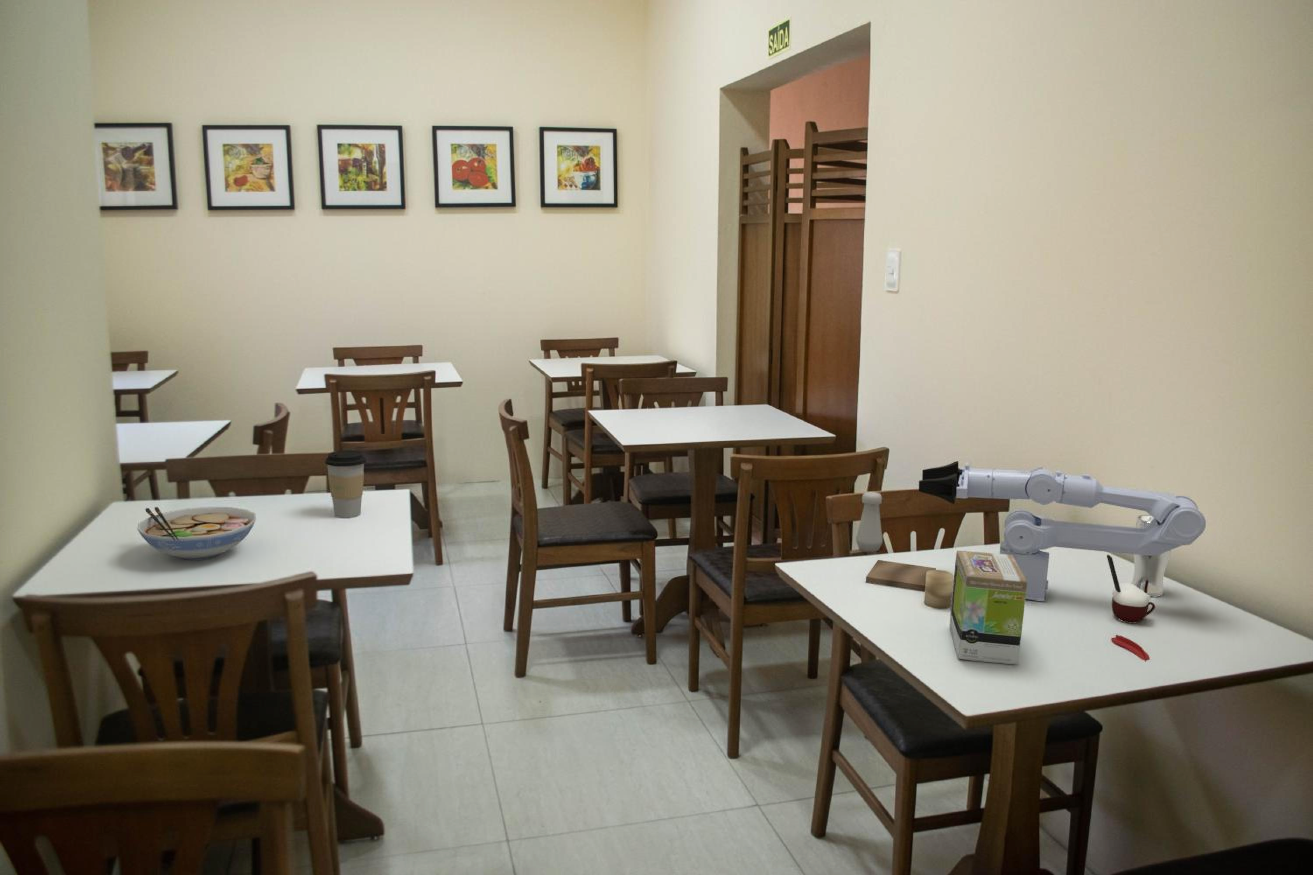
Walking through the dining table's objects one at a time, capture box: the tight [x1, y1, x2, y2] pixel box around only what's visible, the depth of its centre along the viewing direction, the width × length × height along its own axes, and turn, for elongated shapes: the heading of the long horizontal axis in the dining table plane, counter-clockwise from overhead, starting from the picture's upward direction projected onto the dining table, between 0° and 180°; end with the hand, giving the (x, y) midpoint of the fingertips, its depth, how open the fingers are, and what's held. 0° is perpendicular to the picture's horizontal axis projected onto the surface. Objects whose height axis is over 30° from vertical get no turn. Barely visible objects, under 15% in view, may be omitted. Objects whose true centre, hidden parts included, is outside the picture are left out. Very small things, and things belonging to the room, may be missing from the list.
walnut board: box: [865, 559, 937, 592], centre depth 210 cm, size 12×12×1 cm
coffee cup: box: [324, 449, 367, 519], centre depth 245 cm, size 9×9×15 cm
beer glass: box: [1130, 514, 1172, 596], centre depth 203 cm, size 7×7×15 cm
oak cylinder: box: [923, 569, 954, 610], centre depth 195 cm, size 5×5×6 cm
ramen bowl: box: [137, 506, 257, 561], centre depth 214 cm, size 25×23×8 cm
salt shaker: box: [855, 491, 884, 553], centre depth 227 cm, size 6×6×13 cm
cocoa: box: [1106, 554, 1156, 624], centre depth 189 cm, size 10×6×12 cm, turn 67°
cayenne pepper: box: [1110, 634, 1150, 663], centre depth 176 cm, size 12×5×2 cm, turn 170°
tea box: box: [949, 550, 1027, 665], centre depth 175 cm, size 15×10×15 cm, turn 170°
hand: (920, 480), depth 205 cm, fingers open, 7 cm apart
